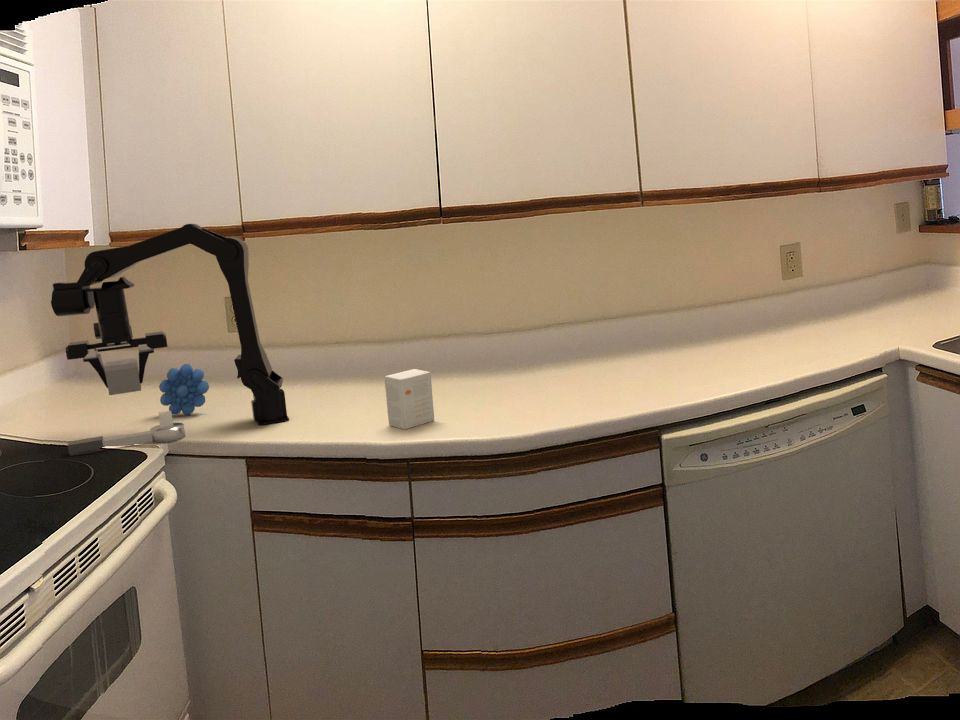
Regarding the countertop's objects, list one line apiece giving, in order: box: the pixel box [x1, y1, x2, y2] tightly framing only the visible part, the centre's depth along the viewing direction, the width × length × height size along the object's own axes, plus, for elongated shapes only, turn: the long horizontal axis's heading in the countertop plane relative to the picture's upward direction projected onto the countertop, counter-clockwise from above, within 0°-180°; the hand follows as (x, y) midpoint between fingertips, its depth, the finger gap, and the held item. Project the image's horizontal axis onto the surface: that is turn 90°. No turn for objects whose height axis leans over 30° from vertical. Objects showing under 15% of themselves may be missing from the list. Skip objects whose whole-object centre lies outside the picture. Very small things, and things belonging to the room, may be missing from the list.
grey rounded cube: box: [104, 357, 142, 396], centre depth 154 cm, size 6×6×6 cm
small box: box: [383, 368, 435, 430], centre depth 151 cm, size 8×6×10 cm
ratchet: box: [67, 410, 186, 455], centre depth 148 cm, size 21×6×6 cm, turn 113°
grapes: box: [158, 363, 210, 416], centre depth 169 cm, size 12×7×12 cm, turn 88°
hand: (125, 385), depth 154 cm, fingers closed on grey rounded cube, 6 cm apart
